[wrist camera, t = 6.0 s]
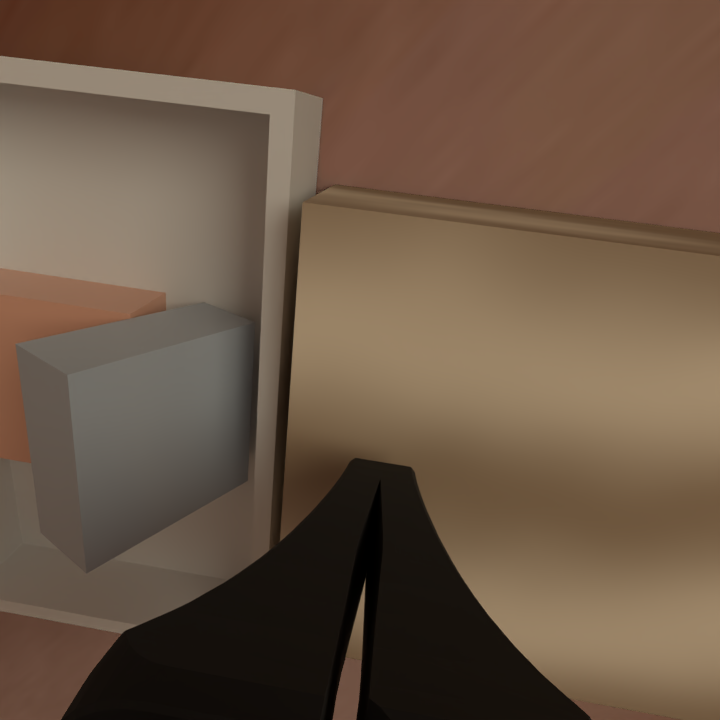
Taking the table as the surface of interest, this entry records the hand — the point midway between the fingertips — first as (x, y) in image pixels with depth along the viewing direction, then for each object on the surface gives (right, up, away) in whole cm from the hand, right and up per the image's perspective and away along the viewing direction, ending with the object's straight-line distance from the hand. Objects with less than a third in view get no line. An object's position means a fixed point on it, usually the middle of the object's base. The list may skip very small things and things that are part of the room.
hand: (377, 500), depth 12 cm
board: (+5, +1, +4) cm, 7 cm away
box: (-7, +3, +5) cm, 9 cm away
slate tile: (-5, +1, +1) cm, 5 cm away
